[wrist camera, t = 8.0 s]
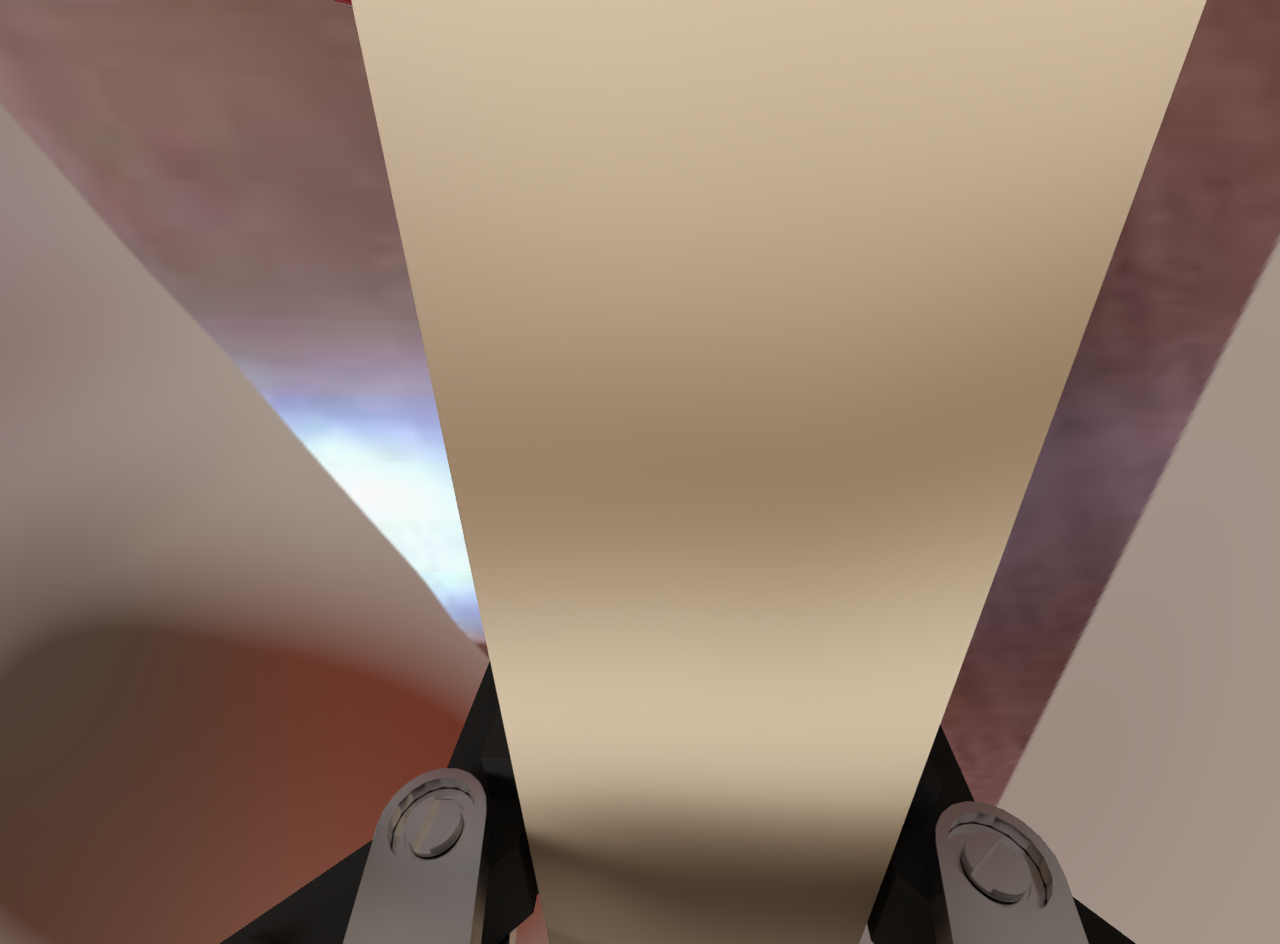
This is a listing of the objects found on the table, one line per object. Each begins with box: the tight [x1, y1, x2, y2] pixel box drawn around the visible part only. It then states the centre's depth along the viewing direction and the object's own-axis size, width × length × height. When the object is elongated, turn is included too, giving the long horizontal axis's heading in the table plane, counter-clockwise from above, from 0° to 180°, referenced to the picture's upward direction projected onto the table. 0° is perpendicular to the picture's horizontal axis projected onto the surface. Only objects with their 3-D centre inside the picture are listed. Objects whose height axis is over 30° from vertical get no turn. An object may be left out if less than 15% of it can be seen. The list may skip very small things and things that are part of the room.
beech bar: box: [351, 0, 1206, 944], centre depth 9 cm, size 24×4×5 cm, turn 1°
